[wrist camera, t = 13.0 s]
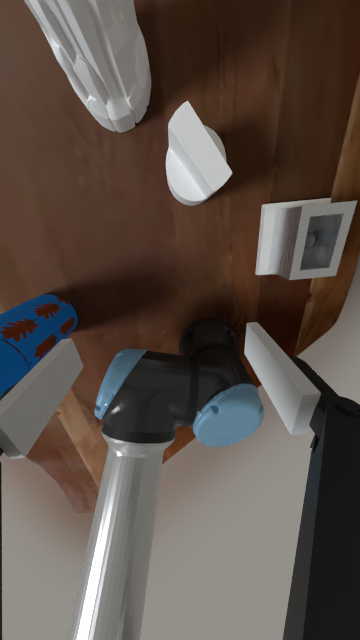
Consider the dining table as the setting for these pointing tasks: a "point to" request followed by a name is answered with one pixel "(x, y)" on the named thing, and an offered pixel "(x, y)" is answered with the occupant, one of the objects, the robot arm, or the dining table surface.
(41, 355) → the thermos
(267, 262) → the keeper board
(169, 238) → the dining table surface
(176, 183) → the cylinder with rectangular tab
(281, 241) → the steel link
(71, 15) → the decorative vase
